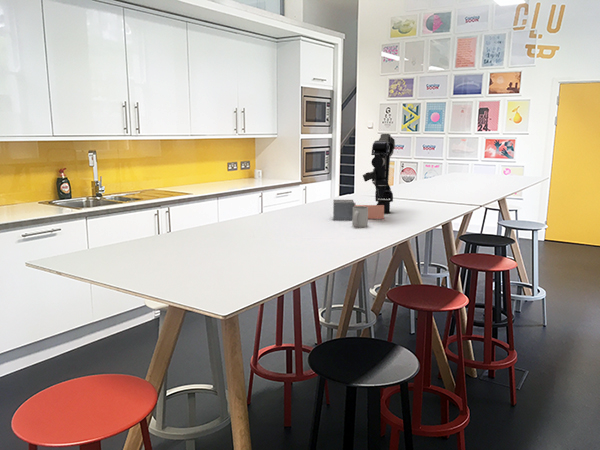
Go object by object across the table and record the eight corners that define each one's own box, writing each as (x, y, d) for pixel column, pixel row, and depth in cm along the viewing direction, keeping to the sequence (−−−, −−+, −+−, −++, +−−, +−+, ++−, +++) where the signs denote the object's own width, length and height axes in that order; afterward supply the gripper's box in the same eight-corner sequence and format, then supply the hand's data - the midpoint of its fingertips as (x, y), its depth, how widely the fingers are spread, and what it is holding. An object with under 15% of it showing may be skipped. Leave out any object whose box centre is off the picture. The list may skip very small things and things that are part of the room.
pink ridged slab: (383, 217, 258) (383, 205, 257) (383, 218, 256) (384, 205, 254) (349, 217, 259) (350, 204, 257) (350, 218, 256) (350, 205, 255)
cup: (370, 225, 240) (370, 207, 238) (361, 229, 232) (361, 210, 230) (356, 224, 244) (356, 205, 242) (347, 227, 236) (347, 208, 234)
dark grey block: (354, 216, 262) (354, 199, 260) (355, 220, 253) (356, 202, 251) (333, 216, 263) (333, 199, 261) (333, 220, 253) (333, 202, 251)
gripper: (362, 165, 261) (361, 195, 264) (365, 168, 243) (364, 200, 246) (384, 165, 261) (383, 195, 264) (388, 168, 242) (387, 200, 245)
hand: (379, 197), depth 255 cm, fingers open, 9 cm apart
